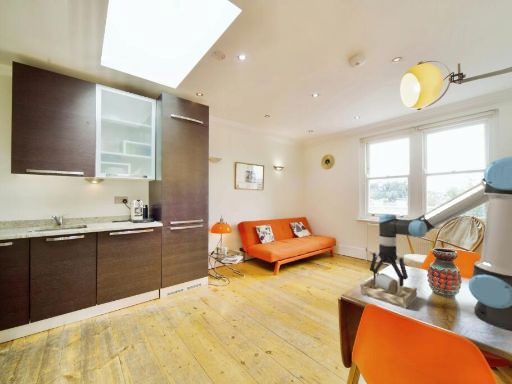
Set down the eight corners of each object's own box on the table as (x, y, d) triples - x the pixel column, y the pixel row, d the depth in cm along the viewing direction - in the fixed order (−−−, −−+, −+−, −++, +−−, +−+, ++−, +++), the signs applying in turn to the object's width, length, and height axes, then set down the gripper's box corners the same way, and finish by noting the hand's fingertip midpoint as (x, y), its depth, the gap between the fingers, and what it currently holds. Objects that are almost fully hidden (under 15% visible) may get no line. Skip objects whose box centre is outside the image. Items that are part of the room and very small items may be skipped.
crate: (416, 297, 110) (416, 288, 110) (405, 309, 99) (405, 298, 99) (374, 285, 125) (374, 276, 125) (360, 293, 114) (360, 284, 114)
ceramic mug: (389, 295, 107) (389, 279, 107) (375, 288, 114) (375, 273, 114) (405, 292, 110) (405, 277, 110) (390, 286, 118) (390, 271, 118)
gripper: (415, 247, 106) (416, 294, 106) (368, 240, 123) (368, 280, 123) (411, 249, 102) (411, 298, 101) (362, 242, 118) (362, 283, 118)
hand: (388, 288), depth 112 cm, fingers closed on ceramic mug, 9 cm apart
